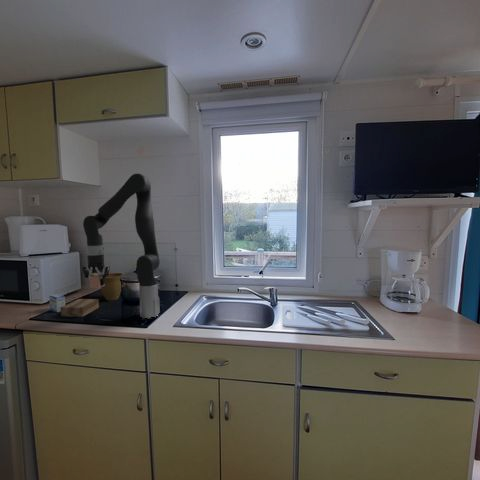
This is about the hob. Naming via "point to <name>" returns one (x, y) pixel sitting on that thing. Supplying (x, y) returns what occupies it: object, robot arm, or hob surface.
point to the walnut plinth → (79, 307)
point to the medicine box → (56, 302)
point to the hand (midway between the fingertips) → (97, 285)
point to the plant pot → (112, 286)
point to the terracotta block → (95, 281)
